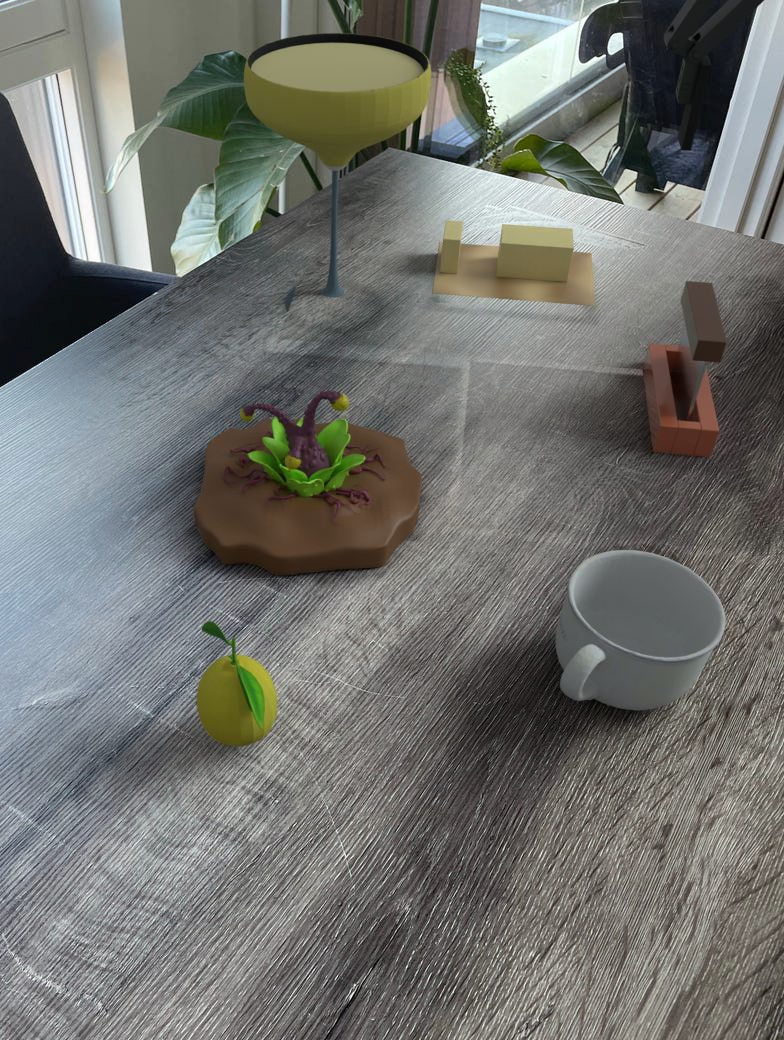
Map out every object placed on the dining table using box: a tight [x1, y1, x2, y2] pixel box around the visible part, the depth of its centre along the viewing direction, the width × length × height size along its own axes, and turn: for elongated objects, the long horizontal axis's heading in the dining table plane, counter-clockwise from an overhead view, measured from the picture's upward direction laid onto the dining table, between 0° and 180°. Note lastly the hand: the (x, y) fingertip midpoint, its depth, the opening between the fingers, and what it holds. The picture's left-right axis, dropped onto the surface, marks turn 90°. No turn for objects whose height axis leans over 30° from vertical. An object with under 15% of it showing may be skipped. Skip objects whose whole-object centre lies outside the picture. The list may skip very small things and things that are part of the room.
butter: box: [496, 223, 575, 282], centre depth 118 cm, size 8×5×4 cm, turn 81°
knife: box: [670, 280, 728, 421], centre depth 97 cm, size 2×11×10 cm, turn 171°
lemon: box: [196, 620, 278, 747], centre depth 69 cm, size 7×6×10 cm
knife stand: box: [641, 342, 720, 458], centre depth 100 cm, size 5×15×4 cm, turn 171°
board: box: [431, 241, 597, 307], centre depth 120 cm, size 18×13×2 cm
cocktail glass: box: [243, 32, 432, 312], centre depth 108 cm, size 18×18×25 cm
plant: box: [192, 389, 423, 576], centre depth 88 cm, size 20×20×11 cm
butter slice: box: [440, 219, 464, 274], centre depth 119 cm, size 2×5×4 cm, turn 171°
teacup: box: [555, 549, 727, 711], centre depth 74 cm, size 14×11×8 cm
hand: (767, 147), depth 87 cm, fingers open, 13 cm apart
